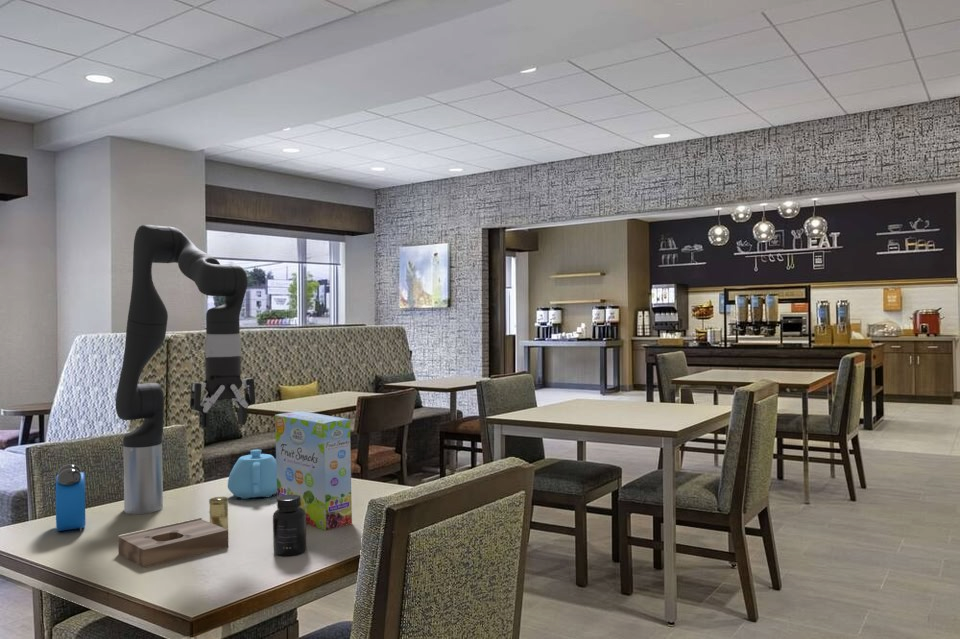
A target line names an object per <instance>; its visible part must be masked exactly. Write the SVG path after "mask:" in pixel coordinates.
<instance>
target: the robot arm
mask: <svg viewBox="0 0 960 639" xmlns="http://www.w3.org/2000/svg"><path fill="white" fill-rule="evenodd" d="M132 250H133V252H132V253H133V255H132V256H133V257H132V283H131V284H132V285H131V292H130V293H131V294H130V302H129V308H128V312H127V313H128V315H127V320H126V321H127V322H126V329H125V330H126V331H125V342H124V352H123V360H122V365H121V366H122V367H121V372H120V375H119V380H118V384H117V389H116V390H117V391H116V394H115V412H116V415H117V416H118V418H119V419H120V420H122V421H132V420H133V421H135V420H142V419H143V422H142V424H140V425H139V426H138V427H137V428H135V429H133V430H132V431H130V432H127V433H125V434H124V435H123V438H122V439H123V440H122V442H123V444H122V446H123V448H122V449H123V492H124V493H123V500H124V502H123V504H124V505H123V507H124V508H123V510H124V511H123V512H124V513H125V514H128V515H144V514H151V513H156V512H159V511H161V510H163V509H164V508H163V507H164V505H163V504H164V503H163V502H164V495H163V494H164V493H163V492H164V489H163V486H164V484H163V482H164V481H163V435H164V417H165V416H164V415H165V394H164V391H163V388H162V386H161V385H160V384H159V383H157V382H146V383H145V382H144V383H139V380H140V377H141V375H142V371H144V368H146V365H148V363H149V361H150V360H151V359H152V357H154V355H155V354H156V352H158V350H159V349H160V348H161V346H162V344H163V343H164V341H165V338H166V334H167V328H168V327H167V326H168V318H169V316H168V315H169V314H168V310H167V307H166V305H165V303H164V302H163V300H162V298H161V296H160V294H159V293H158V290H157V289H156V286H155V284H154V281H153V274H152V268H153V264H154V263H155V264H171V263H176V264H178V266H177V267H178V268H179V270H180V272H181V273H182V275H184V276H185V277H186V278H189V279H190V280H191V281H192V282H194V284H195V285H196V287H197V290H198V291H199V292H200V294H203V295H205V296H209V297H225V299H224V301H223V303H222V304H221V305H218V306H214V307H210V308H209V309H208V310H207V311H206V314H205V316H206V317H205V320H206V322H205V325H206V326H205V327H206V328H205V329H206V330H205V331H206V332H205V342H204V352H205V353H204V357H205V358H204V364H205V365H204V368H205V369H204V370H205V371H204V372H205V373H204V374H205V379H204V380H205V381H204V382H196V381H192V382H191V385H190V395H189V396H190V397H189V408H190V410H193V411H197V412H198V416H199V417H198V420H199V421H198V424H199V427H200V428H201V429H202V430H207V431H208V430H209V429H210V412H208V411H209V410H210V408H211V407H212V406H213V405H215V403H216V401H224V400H228V401H229V400H232V401H234V402H235V404H236V405H237V406H238V407H237V425H239V426H243V425H245V424H246V422H247V421H248V407H249V406H251V405H255V404H256V392H255V391H256V390H255V389H256V388H255V379H254V378H251V377H245V378H244V379H242V378H241V374H242V345H241V344H242V343H241V336H240V330H241V329H240V316H241V311H242V308H243V303H244V299H245V296H246V292H247V289H248V284H249V282H248V280H249V279H248V276H247V273H246V271H245V269H244V268H243V267H241V266H240V265H237V264H221V263H220V262H219V261H218V260H217V259H216V258H215V257H214V256H212V255H210V254H209V253H207V252H205V251H203V250H202V249H200V248H198V247H197V245H195V243H194V242H193V241H192V240H191V239H190V238H189V237H187V235H186V234H185V233H184V232H183V231H181V229H178V228H177V227H173V226H168V225H167V226H166V225H156V224H155V225H154V224H142V225H140V226H139V227H138V228H137V230H136V232H135V235H134V239H133V249H132ZM241 387H242V388H244V396H243V394H242V393H241V392H240V389H241ZM204 389H205V391H206V393H205V395H204V396H203V398H202V392H204Z"/></svg>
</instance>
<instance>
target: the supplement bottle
mask: <svg viewBox="0 0 960 639" xmlns="http://www.w3.org/2000/svg"><path fill="white" fill-rule="evenodd" d="M276 500H277V502H276V508H277V507H278V510H277V509H276V510H275V511H274V512H273V514H272V538H273V539H272V540H273V546H272V547H273V555H274V556H277V557H282V558H283V557H284V558H288V557H289V558H291V557H296V556H300V555H303V554H305V553H306V552H307V547H308V546H307V543H308V542H307V524H306V512H305V511H304V509H302V508H301V507H300V506H301V497H300V496H299V495H284V496H280V497H278V498H277V497H276Z"/></svg>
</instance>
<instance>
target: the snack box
mask: <svg viewBox="0 0 960 639" xmlns="http://www.w3.org/2000/svg"><path fill="white" fill-rule="evenodd" d="M274 427H275V428H274V430H275V431H274V432H275V459H276V471H277V493H276V496H277V497H276V499H277V498H278V497H280V496H284V495H299V496H300V497H301V506H300V507H301V508H302V509H304V511H305V512H306V525H308V526H312V527H314V528H318V529H321V530H324V531H329V530H333V529H336V527H337V528H340V527H339V526H341V527H344V526H347V525H346V524H348V525H351V524H350V523H352V524H353V515H352V514H353V512H352V510H353V508H352V507H353V506H352V504H353V503H352V500H353V499H352V458H351V457H352V455H351V454H352V451H351V450H352V448H351V419H349V418H345V417H340V416H339V417H338V416H332V415H326V414H320V413H315V412H308V411H301V410H299V411H291V412H284V413H278V414H274ZM276 508H277V509H276V510H278V507H277V506H276ZM343 525H344V526H343ZM332 528H333V529H332Z"/></svg>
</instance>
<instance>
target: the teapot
mask: <svg viewBox="0 0 960 639" xmlns="http://www.w3.org/2000/svg"><path fill="white" fill-rule="evenodd" d="M227 489H228V490H229V492H230V493H231V494H232V495H233V496H234V497H238V498H240V499H241V500H248V499H250V498H261V497H263V498H271V497H272V495H275V494H277V471H276V457H274V456H273V455H272V454H267V453H262V449H251V450H250V454H246V455H242V456H240V457H239V458H238V459H237V461H236V462H235V463H234V465H233V467H232V469H231V471H230V473H229V476H228V479H227Z"/></svg>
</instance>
